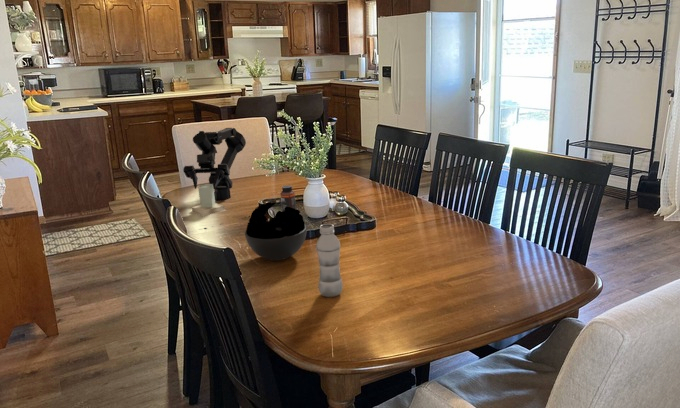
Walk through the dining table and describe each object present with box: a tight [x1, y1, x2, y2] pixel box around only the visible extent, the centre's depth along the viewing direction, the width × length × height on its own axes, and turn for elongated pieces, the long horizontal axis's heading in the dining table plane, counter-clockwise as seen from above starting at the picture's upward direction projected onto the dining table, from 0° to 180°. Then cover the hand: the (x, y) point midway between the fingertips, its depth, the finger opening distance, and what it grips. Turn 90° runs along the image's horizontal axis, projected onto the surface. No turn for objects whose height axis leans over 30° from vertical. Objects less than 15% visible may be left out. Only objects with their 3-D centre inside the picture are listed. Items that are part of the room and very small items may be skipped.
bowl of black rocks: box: [244, 201, 308, 261], centre depth 185 cm, size 20×20×19 cm
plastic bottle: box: [315, 223, 344, 298], centre depth 155 cm, size 6×7×20 cm
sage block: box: [197, 183, 216, 208], centre depth 242 cm, size 5×5×9 cm
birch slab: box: [191, 202, 226, 217], centre depth 243 cm, size 10×10×2 cm
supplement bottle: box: [280, 184, 297, 212], centre depth 237 cm, size 6×6×11 cm
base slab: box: [193, 209, 227, 217], centre depth 244 cm, size 11×11×2 cm
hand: (204, 187), depth 240 cm, fingers open, 8 cm apart
